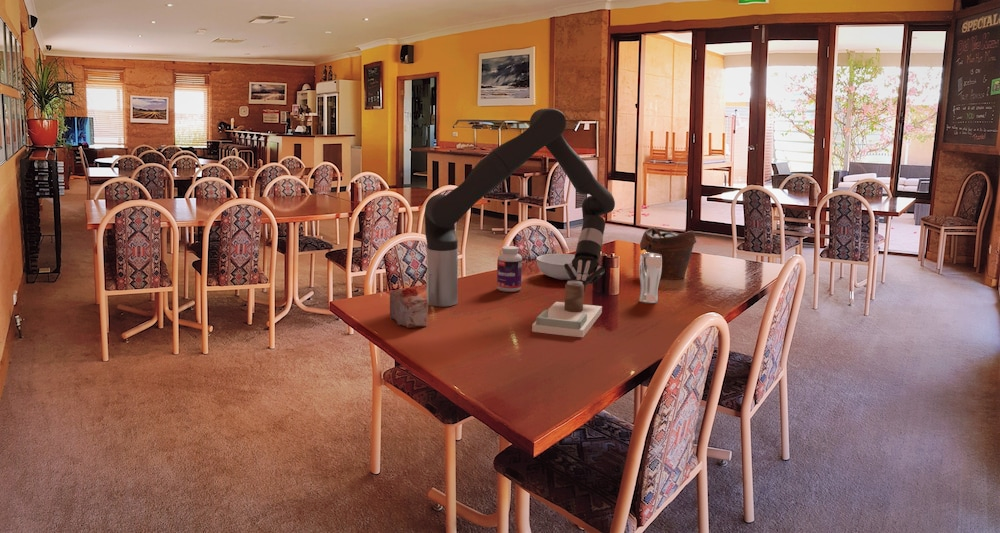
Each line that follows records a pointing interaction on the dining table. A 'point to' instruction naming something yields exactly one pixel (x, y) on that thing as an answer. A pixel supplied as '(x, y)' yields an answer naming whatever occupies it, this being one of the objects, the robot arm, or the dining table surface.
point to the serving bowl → (555, 265)
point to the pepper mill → (574, 296)
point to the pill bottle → (509, 269)
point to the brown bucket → (670, 250)
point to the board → (566, 320)
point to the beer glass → (650, 276)
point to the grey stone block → (408, 308)
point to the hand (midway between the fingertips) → (579, 293)
